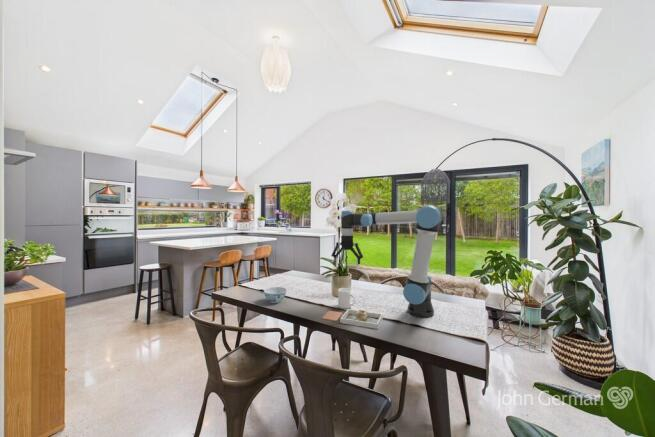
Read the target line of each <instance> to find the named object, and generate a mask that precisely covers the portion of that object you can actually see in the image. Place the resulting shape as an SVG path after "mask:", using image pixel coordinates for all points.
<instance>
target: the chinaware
mask: <svg viewBox="0 0 655 437" xmlns="http://www.w3.org/2000/svg"><path fill="white" fill-rule="evenodd" d="M263 293H264V296H265V299H266V300H268V301H269V303H271V304H278V303H280V302H281V301H282V300H283V299H284V298H285V296H286V295H287V288H285V287H281V286H274V287H268V288H265V289H264V290H263Z"/></svg>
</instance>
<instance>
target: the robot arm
mask: <svg viewBox="0 0 655 437" xmlns="http://www.w3.org/2000/svg"><path fill="white" fill-rule="evenodd" d="M340 215H341V217H340V222H341V223H340V225H341V228H340V235H341V236H340V242H339V241H337V242H336V245H335V247H334V249H333V251H332V252H331V257H332V258H333V259H334V263H335V269H337V268H339V257H338V256H339V255H340V253H342V251H343V250H344V251H347V250H348V251H351V252H352V253H353V255H354V256H355V257H356V259H355V260H356V262H355V263H356V264H355V265H356V268H355V270H356V271H358V270H359V269H360V264H361V259H363V258H364V256H363V253H362V251H361V249H360V247H359V242H356V243H355V242H354V227H371V226H374V225H375V226H376V225H378V226H379V225H398V224H399V225H401V224H404V225H405V224H416V225H415V230H416V231H417V236H416V241H415V247H414V252H413V258H412V259H413V260H412V265H411V271H410V274H408V275H407V277H406V283H405V286H403V289H402V291H403V292H402V295H403V298H404V299H405V300H406V301H407V302H408V305H407V313H408V314H409V315H411V316H414V317H416V318H417V317H418V318H430V317H433V316H434V315H435V310H434V306H433V303H432V282H433V281H432V277H431V276H430V275H428V273H429V267H430V262H431V256H432V251H433V246H434V242H435V240H434V239H435V235H437V234H438V233H439V229H440V225H441V222H442V221H443V219H444V212H443V210H442V209H441V208H439V206H436V205H422V207H420V208H417V209H416V210H403V211H389V212H388V211H387V212H386V211H385V212H372V213H371V212H370V213H354V211H353V210H342V211H341V214H340ZM340 246H341V247H340ZM339 247H340V249H339ZM354 247H355V248H354ZM338 249H339V250H338ZM355 249H356V250H355Z"/></svg>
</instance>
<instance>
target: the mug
mask: <svg viewBox="0 0 655 437" xmlns="http://www.w3.org/2000/svg"><path fill="white" fill-rule="evenodd" d="M337 297H338V298H337V299H338V300H337V302H338V304H337V306H338V307H339V308H340V309H345V308H346V309H350V308H351V307H354V305H355V304H356V298H355V296H354V294H353V291H352V288H349V287H340V288H339V289H338V290H337ZM352 298H353V301H354V302H353V301H352Z"/></svg>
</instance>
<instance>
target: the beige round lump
mask: <svg viewBox="0 0 655 437" xmlns="http://www.w3.org/2000/svg"><path fill="white" fill-rule="evenodd" d="M357 310H358V311H357V313H356V315H355V316H356V319H355V320H358V321H364V322H368V317H367V312H368V310H363V309H357Z"/></svg>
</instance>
